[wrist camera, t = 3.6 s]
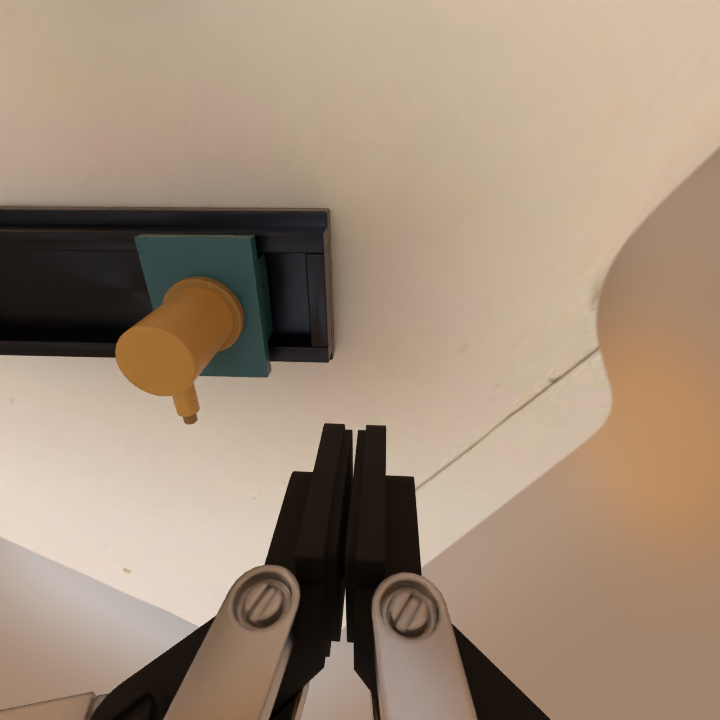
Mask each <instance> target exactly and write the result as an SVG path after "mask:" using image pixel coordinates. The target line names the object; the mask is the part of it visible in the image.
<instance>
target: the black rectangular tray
mask: <svg viewBox="0 0 720 720" xmlns="http://www.w3.org/2000/svg"><path fill="white" fill-rule="evenodd" d="M142 234H177V235H254V236H255V242H256V250H257V253H265V260H266V268H267V277H268V286H269V295H270V304H271V312H272V321H273V330H274V331H273V333H272V335H271V336H270V338H269V340H268V348H269V356H270V361H283V362H326V363H328V362H329V360H332V359H333V355H334V323H333V294H332V266H331V238H330V210H329V209H328V208H178V207H22V206H0V355H25V356H68V357H111V358H116V355H115V350H116V344H117V342H118V340H119V338H120V336H121V335H122V334H123V333H124V332H126V331H127V330H128V329H130V328H131V327H132V326H134V325H135V324H137V323H138V322H139V321H141V320H142V319H143V318H145V317H146V316H147V315H149V314H150V313H151V312H153V307H152V304H151V300H150V296H149V292H148V289H147V285H146V281H145V277H144V273H143V270H142V266H141V262H140V258H139V254H138V251H137V247H136V243H135V239H134V238H135V237H137V236H139V235H142Z"/></svg>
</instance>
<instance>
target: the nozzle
mask: <svg viewBox="0 0 720 720" xmlns="http://www.w3.org/2000/svg"><path fill="white" fill-rule="evenodd" d="M134 239H135V243H136V247H137V251H138V254H139V258H140V262H141V266H142V270H143V273H144V277H145V281H146V285H147V289H148V292H149V296H150V300H151V304H152V307H153V312H151V313H150V314H149V315H147V316H146V317H145V318H143V319H142V320H141V321H139V322H138V323H137V324H135V325H134V326H132V327H131V328H130V329H128V330H127V331H126V332H124V333H123V334H122V335H121V336H120V338H119V340H118V342H117V344H116V350H115V355H116V360H117V363H118V366H119V368H120V370H121V371H122V373H123V374H124V376H125V377H126V378H127V379H128V380H129V381H130V382H131V383H132V384H134V385H135V386H136V387H138V388H139V389H141V390H143V391H145V392H148V393H150V394H154V395H158V396H173V400H174V404H175V407H176V411H177V414H178V415H179V416H182V417H183V419H184V422H185V423H186V424H193V423H195V422H196V421H197V414H196V413H197V412H198V411H199V403H198V399H197V395H196V390H195V386H194V381H195V380H196V378H197V377H198V376H228V377H268V376H269V374H270V372H271V364H270V356H269V348H268V340H269V338H270V336H271V335H272V333H273V331H274V330H273V321H272V312H271V304H270V295H269V286H268V277H267V268H266V260H265V253H257V250H256V242H255V236H254V235H177V234H142V235H139V236H137V237H135V238H134Z"/></svg>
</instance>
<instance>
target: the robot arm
mask: <svg viewBox="0 0 720 720" xmlns="http://www.w3.org/2000/svg"><path fill="white" fill-rule="evenodd" d="M345 588H346V622H347V642H352V643H354V670H355V671H356V673H357V674H358V675H359V677H360V678H361V679H362V680H363V682H364V683H365V685H366V686H367V687H368V689H369V690H370V700H371V712H372V720H550V719H549V717H547V716H546V715H545V714H544V713H543V712H542V711H541V710H540V709H539V708H538V707H537V706H536V705H535V704H534V703H533V702H532V701H531V700H530V699H529V698H528V697H527V696H526V695H525V694H524V693H523V692H522V691H521V690H520V689H519V688H518V687H517V686H515V684H514V683H513V682H511V681H510V680H509V679H508V678H507V677H506V676H505V675H504V674H503V673H502V672H501V671H500V670H499V669H498V668H497V667H496V666H495V665H494V664H493V663H492V662H491V661H490V660H489V659H488V658H487V657H486V656H485V655H484V654H483V653H482V652H481V651H479V650H478V649H477V647H475V646H474V645H473V644H472V643H471V642H470V641H469V640H468V639H467V638H466V637H465V636H464V635H463V634H462V633H461V632H460V631H459V630H458V629H457V628H456V627H455V626H454V625H453V624H452V623H451V620H450V616H449V613H448V609H447V605H446V603H445V601H444V598H443V596H442V594H441V592H440V591H439V590H438V588H437V587H436V586H435V585H434V584H433V583H432V582H430V581H429V580H428V579H426V578H425V577H422V575H421V562H420V548H419V535H418V522H417V509H416V496H415V483H414V477H409V476H387V475H386V426H380V425H366V430H358V437H357V446H356V455H355V465H354V474H353V438H352V430H345V424H327V423H325V424H324V427H323V431H322V436H321V440H320V445H319V449H318V453H317V458H316V462H315V466H314V471H313V472H299V471H293V473H292V474H291V477H290V480H289V484H288V487H287V490H286V494H285V497H284V500H283V504H282V507H281V511H280V514H279V517H278V521H277V524H276V528H275V531H274V534H273V538H272V541H271V545H270V548H269V551H268V555H267V558H266V562H265V565H263V566H258V567H255V568H253V569H251V570H249V571H247V572H245V573H244V574H243V575H242V576H241V577H240V578H238V579H237V580H236V581H235V583H234V584H233V586H232V587H231V589H230V590H229V592H228V594H227V596H226V598H225V600H224V602H223V604H222V605H221V607H220V609H219V611H218V613H217V615H216V616H215V617H214V618H212V619H211V620H209V621H208V622H207V623H205V624H204V625H202V626H201V627H200V628H198V629H197V630H195V631H194V632H193V633H191V634H190V635H188V636H187V637H186V638H184V639H183V640H181V641H180V642H179V643H177V644H176V645H175V646H173V647H172V648H170V649H169V650H167V651H166V652H165V653H163V654H162V655H160V656H159V657H158V658H156V659H155V660H153V661H152V662H151V663H149V664H148V665H146V666H145V667H144V668H142V669H141V670H139V671H138V672H137V673H135V674H134V675H132V676H131V677H130V678H128V679H127V680H125V681H124V682H123V683H121V684H120V685H119V686H117V687H116V688H115V689H114V690H113V691H112V692H111V693H109V694H104V695H99V696H96V695H95V693H94V692H89V693H84V694H79V695H74V696H68V697H63V698H59V699H53V700H48V701H43V702H38V703H33V704H28V705H23V706H18V707H13V708H8V709H3V710H0V720H300V718H301V714H302V711H303V707H304V703H305V700H306V696H307V692H308V688H309V682H310V680H311V679H312V678H313V677H314V676H315V675H316V674H318V672H320V671H321V670H322V669H323V668H324V664H325V657H329V656H330V648H331V641H338V642H339V641H340V637H341V627H342V617H343V607H344V596H345Z"/></svg>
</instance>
